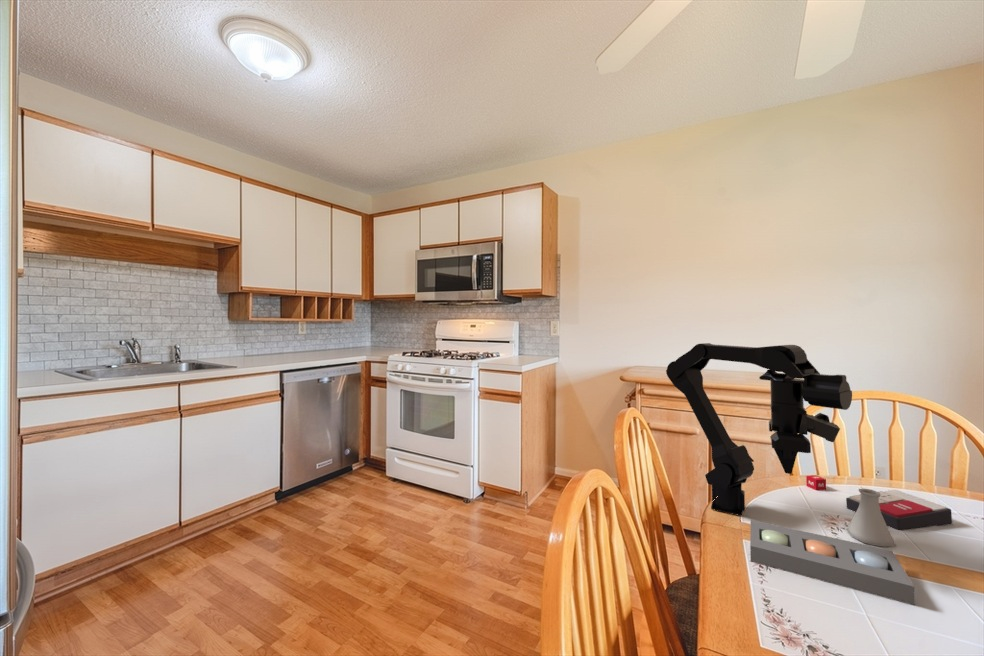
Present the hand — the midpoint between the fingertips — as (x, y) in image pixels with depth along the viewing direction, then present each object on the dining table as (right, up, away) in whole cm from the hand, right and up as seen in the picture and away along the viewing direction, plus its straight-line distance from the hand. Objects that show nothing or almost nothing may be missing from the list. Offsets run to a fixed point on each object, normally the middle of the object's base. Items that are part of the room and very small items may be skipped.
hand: (788, 473), depth 85 cm
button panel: (-3, -13, -11) cm, 17 cm away
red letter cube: (+25, -13, +23) cm, 36 cm away
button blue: (+3, -13, -15) cm, 20 cm away
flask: (+15, -13, -3) cm, 20 cm away
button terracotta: (-3, -13, -11) cm, 17 cm away
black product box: (+31, -13, +7) cm, 34 cm away
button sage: (-8, -13, -7) cm, 17 cm away
